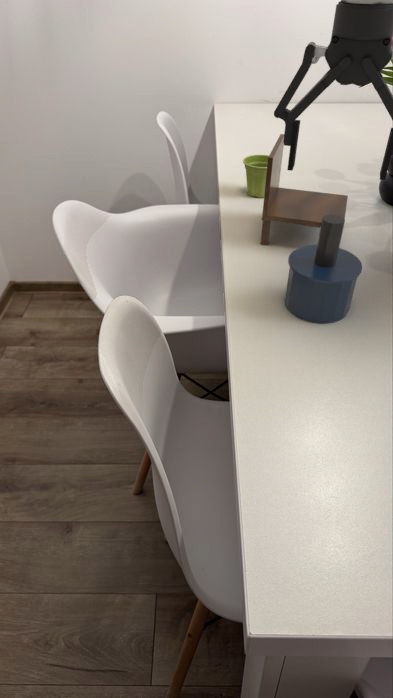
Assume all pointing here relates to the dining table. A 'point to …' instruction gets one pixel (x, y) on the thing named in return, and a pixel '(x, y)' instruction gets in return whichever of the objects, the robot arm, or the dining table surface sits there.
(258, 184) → the plant pot
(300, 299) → the pot
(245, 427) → the dining table surface
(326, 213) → the wooden toy chair
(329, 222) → the lid
